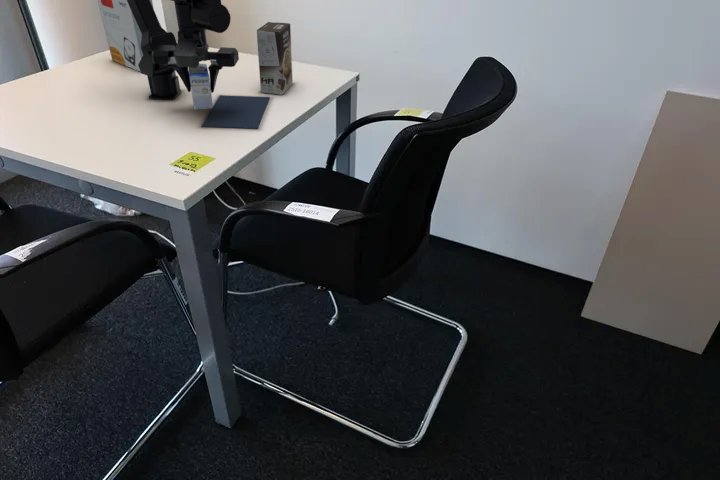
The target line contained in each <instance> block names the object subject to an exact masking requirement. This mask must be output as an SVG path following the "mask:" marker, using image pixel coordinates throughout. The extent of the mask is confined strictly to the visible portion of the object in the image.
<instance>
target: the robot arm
mask: <svg viewBox="0 0 720 480" xmlns="http://www.w3.org/2000/svg"><path fill="white" fill-rule="evenodd" d="M170 1H172V2H174V8H175V9H174V10H175V16H176V21H177V28H178V31H177V40H176V37H175V34H174V33H173V32H172V31H167V30H165V29H164V28H163V27H162V25H161V23H160V21H159V18H158V15H157V14H156V12H155V9H153V8H154V6H153V7H152V4H151V2H150V0H127V2H128V4H129V7H130V9H131V11H132V13H133V15H134V18H135V20H136V22H137V24H138V27H139V29H140V31H141V34H142V39H141V50H142V53H143V56H142V58H141V60H140V62H139V64H138V66H139V69H140V71H141V72H140V71H139V72H140V73H141V75H145V76H146V77H147V81H148V87H149V91H150V95H148V99H150V100H171V101H172V100H175V99H176V98H177V96H178V95H179V94H180V93H181V91H182V89H181V86H180V79H181V81H182V83H183V85H184V86H185V89H186V90H187V92H188V93H191V92H192V90H191V83H190V77H189V68H188V67H191V68H196V67H198V66H199V64H200V63H202V62H207V61H209V62H210V64H209V65H208V66H207V69H208V73H209V79H210V87H211V94H213V93H214V92H215V88H216V85H217V80H218V76H219V73H220V70H223V68H233V67H235V66H236V65H237V63H238V61H239V60H240V56H239V55H240V54H239V51H238V50H237V48H236V47H221V46H220V47H219V49H218V50H217V51H209V49H210V47H209V44H208V41H207V33H206V31H211V32H214V33H217V34H223V33H225V32H226V31H227V30H228V29H229V27H230V25H231V18H232V17H231V13H230V11H229V10H228V7H226V6H225V5H224V4H223V3H222V0H170ZM179 78H180V79H179Z"/></svg>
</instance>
